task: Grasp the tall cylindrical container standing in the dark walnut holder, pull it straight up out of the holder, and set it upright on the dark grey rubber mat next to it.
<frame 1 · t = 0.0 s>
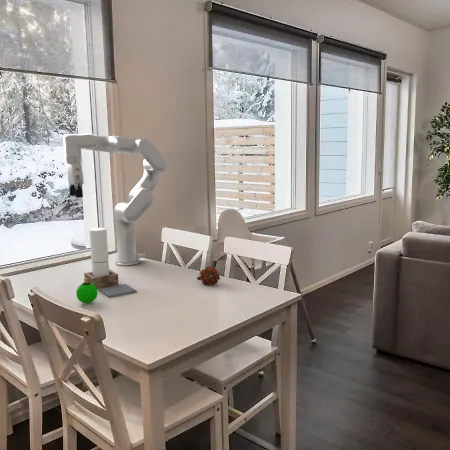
hand: (76, 196, 229), 37 cm above the table, tool pointing down, fingers open, 9 cm apart
ornament: (87, 303, 188), on the table
holder: (101, 284, 212), on the table
mat: (117, 291, 201), on the table
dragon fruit: (208, 284, 209), on the table
cylindrical container: (101, 284, 212), resting in holder
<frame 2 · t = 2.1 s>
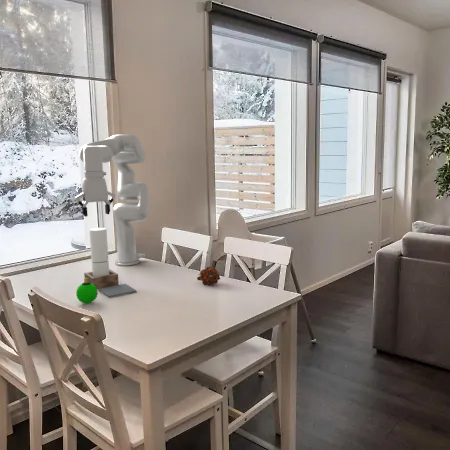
hand: (96, 215, 206), 31 cm above the table, tool pointing down, fingers open, 9 cm apart
nothing on the table moved.
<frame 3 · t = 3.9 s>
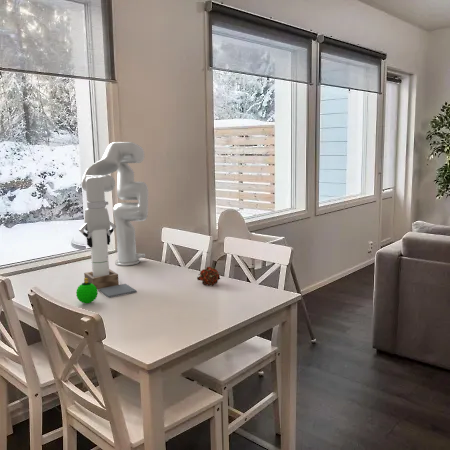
hand: (99, 245, 209), 18 cm above the table, tool pointing down, fingers closed on cylindrical container, 7 cm apart
cylindrical container: (101, 284, 212), resting in holder, touching gripper
everything else where it was.
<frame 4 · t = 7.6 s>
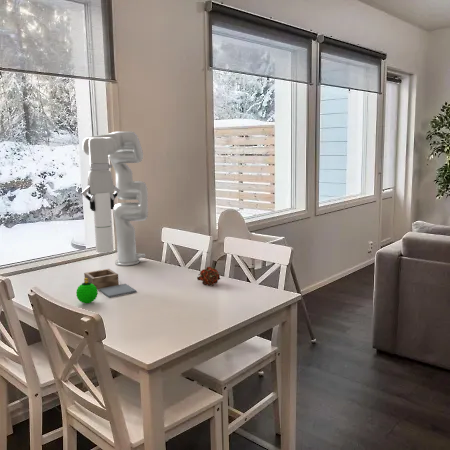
hand: (102, 209, 202), 34 cm above the table, tool pointing down, fingers closed on cylindrical container, 7 cm apart
cylindrical container: (105, 251, 205), point 16 cm above the table, touching gripper
everything else where it was.
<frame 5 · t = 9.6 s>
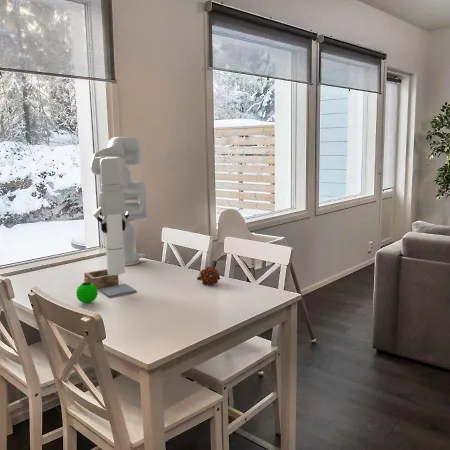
hand: (113, 231, 197), 26 cm above the table, tool pointing down, fingers closed on cylindrical container, 7 cm apart
cylindrical container: (116, 273, 200), point 8 cm above the table, touching gripper
everything else where it was.
when the fingers open (20 cm above the table, at t = 11.3 s): cylindrical container drops 1 cm, resting on mat.
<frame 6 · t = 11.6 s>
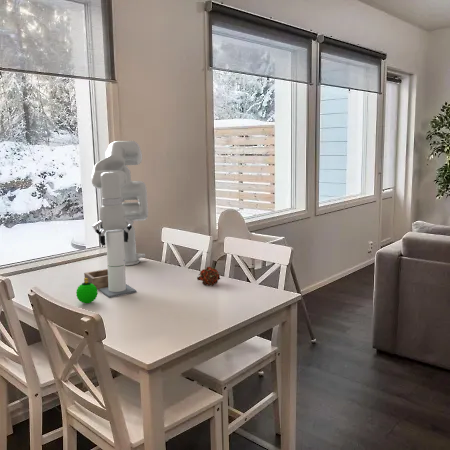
hand: (114, 243, 198), 21 cm above the table, tool pointing down, fingers open, 9 cm apart
cylindrical container: (117, 289, 201), point 1 cm above the table, touching mat
everything else where it was.
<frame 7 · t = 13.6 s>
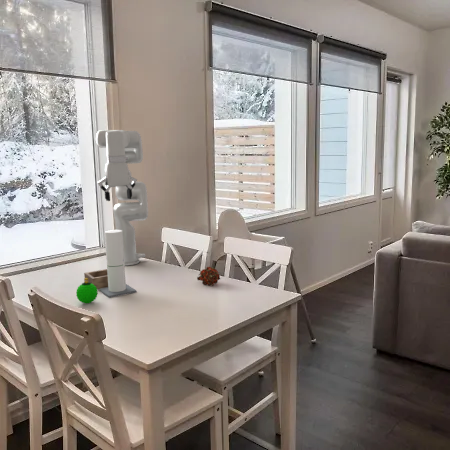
hand: (118, 199, 207), 37 cm above the table, tool pointing down, fingers open, 9 cm apart
nothing on the table moved.
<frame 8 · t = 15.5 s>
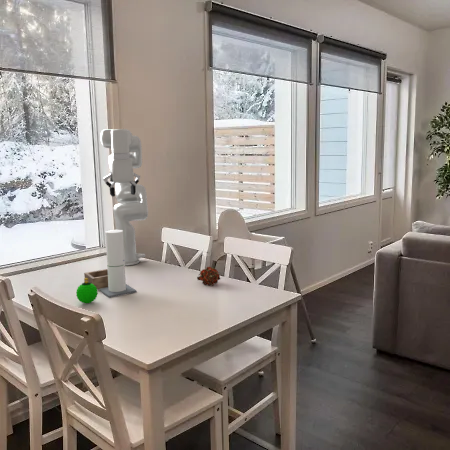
hand: (123, 195, 216), 38 cm above the table, tool pointing down, fingers open, 9 cm apart
nothing on the table moved.
at the end: cylindrical container inside the target area on the mat (0.2 cm from its centre), point 0.6 cm above the mat's base; cylindrical container tilted 0°; the gripper is holding nothing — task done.
